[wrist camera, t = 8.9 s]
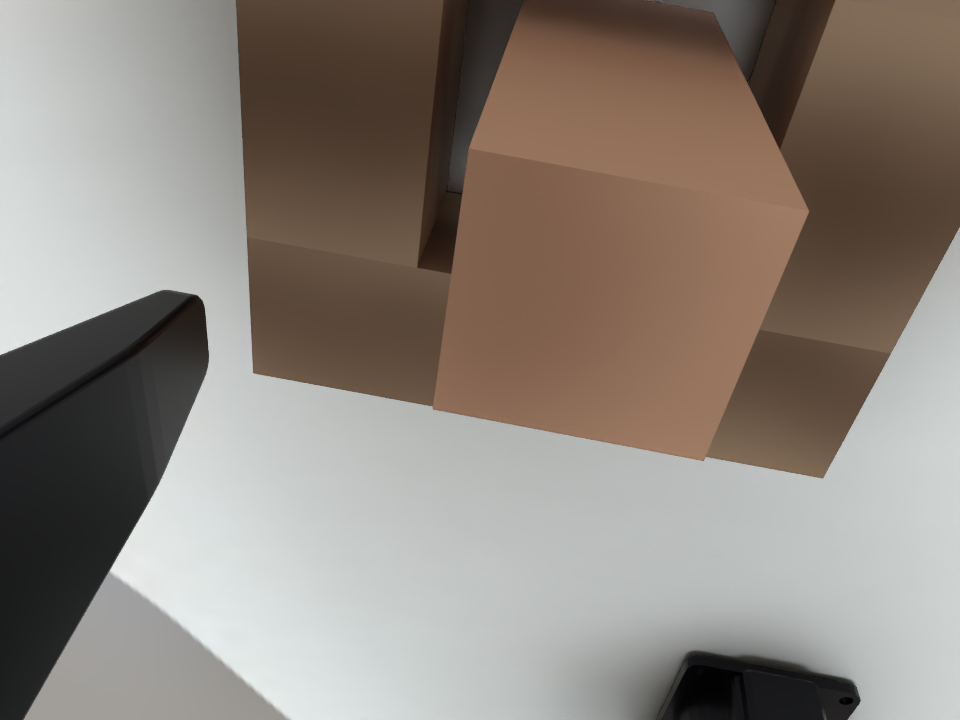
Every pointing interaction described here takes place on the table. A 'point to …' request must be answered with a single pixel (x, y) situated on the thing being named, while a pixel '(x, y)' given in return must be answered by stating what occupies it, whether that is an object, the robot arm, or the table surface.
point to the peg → (615, 229)
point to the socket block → (435, 212)
